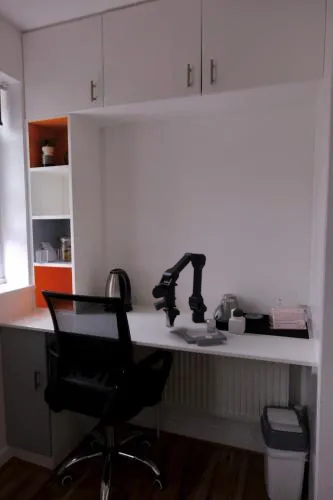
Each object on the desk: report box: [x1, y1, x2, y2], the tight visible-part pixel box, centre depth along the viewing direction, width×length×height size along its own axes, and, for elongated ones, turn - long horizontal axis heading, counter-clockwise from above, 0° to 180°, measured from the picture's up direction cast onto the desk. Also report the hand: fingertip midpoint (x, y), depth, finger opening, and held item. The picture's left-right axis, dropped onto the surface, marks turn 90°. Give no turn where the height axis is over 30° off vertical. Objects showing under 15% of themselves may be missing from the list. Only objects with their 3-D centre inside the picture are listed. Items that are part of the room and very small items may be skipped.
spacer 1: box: [165, 314, 175, 328], centre depth 172 cm, size 4×4×6 cm
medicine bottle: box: [228, 308, 246, 335], centre depth 171 cm, size 7×7×12 cm
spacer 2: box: [206, 318, 217, 333], centre depth 166 cm, size 4×4×6 cm
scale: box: [178, 326, 228, 347], centre depth 163 cm, size 20×20×3 cm
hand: (170, 324), depth 173 cm, fingers closed on spacer 1, 4 cm apart
